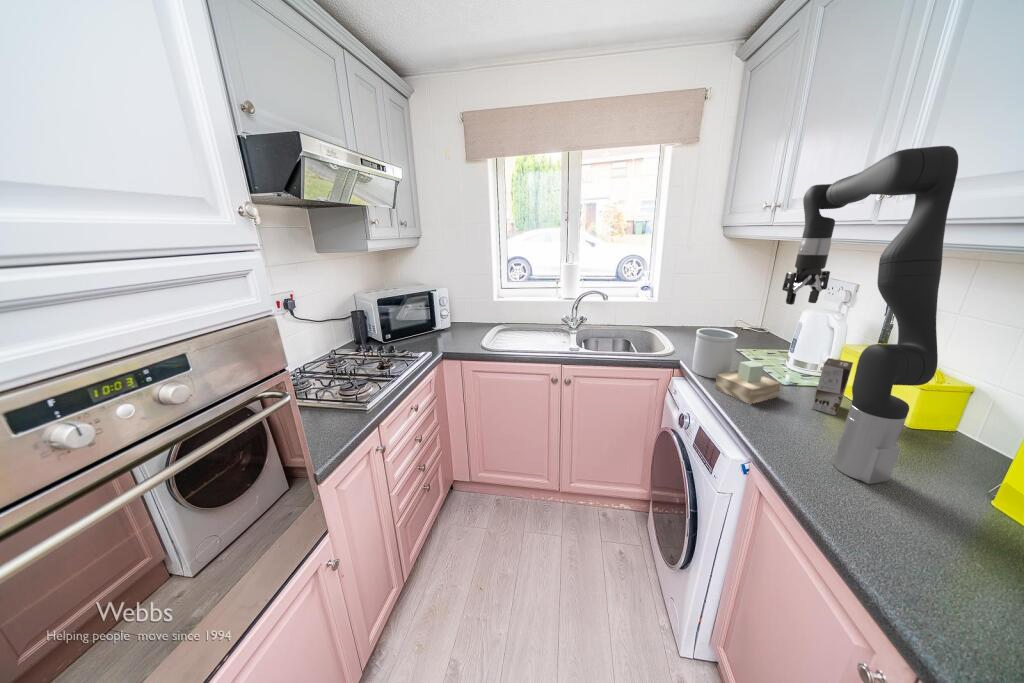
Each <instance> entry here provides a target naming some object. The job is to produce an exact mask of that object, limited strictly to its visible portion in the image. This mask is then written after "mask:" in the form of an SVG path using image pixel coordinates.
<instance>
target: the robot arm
mask: <svg viewBox="0 0 1024 683" xmlns="http://www.w3.org/2000/svg"><path fill="white" fill-rule="evenodd" d="M958 170H959V154H958V152H957V149H955V148H954V147H953V146H950V145H937V146H927V147H915V148H914V147H913V148H905V149H901V150H897V151H894V152H893V153H891V154H888V155H886V156H885V157H883V158H881V159H880V160H878V161H876V162H875V163H873V164H872V165H870V166H868V167H867V168H864V170H862V171H861V172H858V173H855V174H852V175H849V176H847V177H843V178H841V179H839V180H836V181H835V182H833V183H828V184H827V183H825V184H823V183H822V184H815V185H812V186H810V187H809V188H808V189H807V190H806V192H805V193H804V196H803V205H802V206H803V210H804V211H803V212H804V228H803V233H802V237H801V241H800V242H799V246H798V250H797V254H796V260H795V264H794V267H795V268H796V270H795V272H792V271H788V272H786V273H785V276H784V277H785V278H784V281H783V285H782V291H785V292H787V295H786V298H785V303H786V304H787V305H794V304H795V301H796V297H797V292H798V291H799V290H800V289H802V288H803V287H805V286H808V287H810V290H811V291H810V293H809V298H808V303H809V304H816V303H817V302H818V299H819V295H820V292H822V291H823V290H827V288H828V284H829V280H830V275H831V272H830V270H829V271H828V270H823V269H825V268H826V265H827V261H828V258H829V254H830V249H831V244H832V237H833V233H834V230H835V229H834V228H835V224H836V220H835V219H834V218H832V217H827V216H826V217H825V216H823V215H822V214H821V210H833V209H834V210H836V209H840V208H841V209H842V208H844V207H846V206H847V205H848V204H853V203H856V202H860V201H863V200H865V199H867V198H868V197H870V196H871V195H881V196H882V195H883V196H885V195H886V196H908V195H915V197H914V198H915V200H914V205H913V210H912V212H911V213H912V214H911V216H910V217H909V220H908V221H907V223H906V224H905V226H903V228H902V229H901V231H900V232H899V233H898V234H897V235H896V236H895V237H894V238H893V239H892V241H891V242H890V243H889V244H888V245H887V247H886V248H885V249H884V250H883V252H882V253H881V255H880V257H879V263H878V271H877V282H876V283H877V289H878V291H879V293H880V295H881V297H882V300H884V302H885V303H886V306H888V308H889V309H890V311H891V312H892V313H893V315H894V317H895V320H896V322H897V328H898V329H897V330H898V331H897V332H898V335H897V344H896V343H893V344H892V343H875V344H871V345H868V346H867V347H865V349H863V350H862V352H861V353H860V355H859V358H858V361H857V364H856V369H855V374H854V378H853V382H852V386H851V395H852V399H851V403H850V406H849V410H848V412H847V416H846V419H845V422H844V425H843V429H842V432H841V436H840V439H839V440H838V441H839V442H838V445H837V448H836V452H835V455H834V458H833V462H832V463H833V466H834V467H835V468H836V469H837V470H838V471H839V472H840V473H842V474H844V475H846V476H848V477H850V478H853V479H856V480H859V481H861V482H863V483H865V484H866V485H872V484H878V483H879V484H880V483H884V482H889V481H890V478H891V477H892V476H891V475H892V473H893V470H894V467H895V464H896V462H897V460H898V456H899V455H900V454H899V453H900V451H901V446H900V445H897V444H898V441H899V439H900V436H901V433H902V430H903V428H904V425H905V423H906V420H907V418H908V414H909V412H910V405H909V403H907V402H906V401H905V400H903V399H901V398H900V397H897V396H895V395H892V391H893V387H894V386H908V387H909V386H922V385H926V384H928V383H929V382H931V381H932V379H934V376H935V374H936V372H937V369H938V357H939V356H938V355H939V354H938V337H937V336H938V335H937V334H938V333H937V312H938V299H939V298H938V297H939V296H938V295H939V288H940V282H941V276H942V265H943V253H944V250H943V249H944V239H945V232H946V224H947V219H948V218H947V217H948V213H949V212H948V211H949V208H950V203H951V201H952V196H953V192H954V188H955V183H956V179H957V175H958Z"/></svg>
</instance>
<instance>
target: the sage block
mask: <svg viewBox="0 0 1024 683" xmlns="http://www.w3.org/2000/svg"><path fill="white" fill-rule="evenodd" d="M738 370H739V371H738V376H737V377H738V378H740V379H742V380H744V381H746V382H747V383H748V382H760V381H761V376H762V375H763V370H764V365H763V364H760V363H758V362H756V361H754V360H749V361H739V367H738Z"/></svg>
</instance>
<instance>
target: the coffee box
mask: <svg viewBox="0 0 1024 683" xmlns="http://www.w3.org/2000/svg"><path fill="white" fill-rule="evenodd" d="M853 364H854V362H852V361H847V360H842V359H835V358H830V357H829V358H827V359H826V361H825V362H824V363H823V366H822V370H821V373H820V377H819V381H818V384H817V387H816V390H815V395H814V399H813V402H812V406H811V410H815V411H819V412H822V413H826V414H829V415H832V416H836V415H837V413H838V411H839V409H840V407H841V404H842V401H843V397H844V394H845V391H846V388H847V385H848V382H849V377H850V375H851V370H852V368H853Z"/></svg>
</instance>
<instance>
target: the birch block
mask: <svg viewBox="0 0 1024 683" xmlns="http://www.w3.org/2000/svg"><path fill="white" fill-rule="evenodd" d="M738 371H739V369H737V370H733V371H729V372H727V373H723V374H718V375H717V377H716V378H715V383H714V384H715V385H714V389H715V390H717V389H718V391H719V390H720V391H719V392H722V391H723V392H722V393H724V392H725V393H724V394H726V393H727V394H726V395H728V394H729V395H728V396H730V395H731V397H732V396H733V397H732V398H734V397H736V398H735V399H737V398H738V399H737V400H739V399H740V400H739V401H741V400H742V401H741V402H743V401H744V402H743V403H745V402H746V404H747V403H749V404H748V405H753V404H757V403H761V402H765V401H768V399H769V400H771V399H775V398H778V397H779V393H780V388H781V382H780V381H776V380H774V379H771V378H769V377H767V376H761V381H760V382H748V383H747V382H746V381H744V380H742V379H740V378H738V377H737V376H738ZM764 400H765V401H764ZM756 402H757V403H756ZM752 403H753V404H752Z"/></svg>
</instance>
